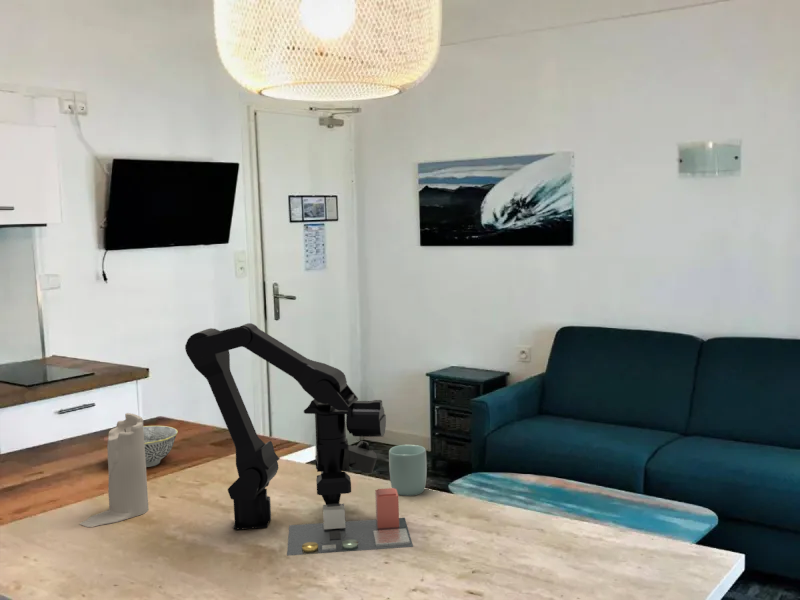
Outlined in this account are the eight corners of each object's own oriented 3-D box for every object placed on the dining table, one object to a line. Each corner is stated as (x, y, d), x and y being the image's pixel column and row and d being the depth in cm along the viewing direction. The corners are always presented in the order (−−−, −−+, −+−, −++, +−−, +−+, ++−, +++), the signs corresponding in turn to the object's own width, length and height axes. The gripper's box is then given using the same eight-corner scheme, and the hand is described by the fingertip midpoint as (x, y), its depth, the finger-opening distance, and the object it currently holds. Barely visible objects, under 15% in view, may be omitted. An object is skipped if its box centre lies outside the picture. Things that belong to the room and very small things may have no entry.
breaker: (323, 529, 154) (323, 509, 154) (323, 523, 157) (322, 503, 157) (345, 527, 155) (344, 508, 154) (344, 522, 158) (344, 502, 157)
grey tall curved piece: (74, 522, 166) (66, 424, 164) (137, 502, 176) (131, 410, 174) (91, 530, 161) (84, 429, 159) (155, 510, 171) (149, 415, 169)
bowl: (193, 459, 206) (191, 429, 206) (142, 477, 193) (140, 446, 192) (149, 451, 215) (147, 422, 214) (97, 468, 202) (95, 437, 201)
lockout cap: (377, 528, 155) (376, 495, 154) (376, 520, 159) (375, 488, 158) (399, 526, 155) (398, 494, 154) (397, 519, 159) (396, 487, 158)
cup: (423, 503, 171) (422, 455, 170) (386, 501, 172) (385, 454, 171) (429, 490, 178) (428, 444, 177) (394, 488, 180) (393, 443, 179)
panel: (287, 562, 144) (286, 551, 144) (289, 531, 158) (289, 521, 157) (413, 553, 146) (413, 542, 146) (404, 523, 160) (404, 514, 160)
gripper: (377, 446, 149) (380, 530, 151) (369, 421, 168) (372, 496, 169) (315, 450, 148) (318, 535, 150) (314, 424, 166) (317, 499, 168)
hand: (334, 515), depth 159 cm, fingers closed
